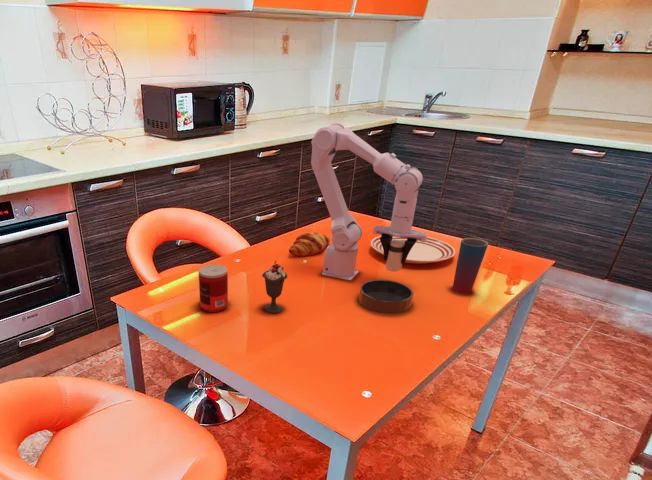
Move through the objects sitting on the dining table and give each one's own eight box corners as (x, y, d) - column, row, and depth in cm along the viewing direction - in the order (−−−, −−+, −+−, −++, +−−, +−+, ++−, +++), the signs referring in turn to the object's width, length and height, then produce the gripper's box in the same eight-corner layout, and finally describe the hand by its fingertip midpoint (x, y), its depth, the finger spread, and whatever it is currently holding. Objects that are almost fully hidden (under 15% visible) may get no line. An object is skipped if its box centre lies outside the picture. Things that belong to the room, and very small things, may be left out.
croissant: (321, 250, 178) (315, 229, 177) (342, 243, 170) (336, 222, 169) (283, 264, 166) (276, 242, 165) (304, 258, 158) (297, 235, 157)
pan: (351, 307, 132) (353, 294, 130) (367, 288, 142) (369, 276, 140) (402, 319, 125) (405, 306, 123) (415, 299, 136) (418, 286, 133)
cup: (476, 297, 136) (491, 247, 128) (451, 295, 137) (464, 245, 129) (471, 287, 142) (484, 238, 134) (446, 285, 143) (458, 237, 135)
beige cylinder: (383, 269, 141) (387, 243, 136) (387, 264, 144) (392, 239, 140) (398, 272, 138) (404, 246, 134) (403, 267, 142) (408, 241, 137)
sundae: (269, 316, 128) (271, 264, 120) (256, 306, 133) (258, 255, 125) (290, 311, 130) (293, 259, 123) (276, 301, 136) (279, 251, 128)
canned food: (231, 301, 136) (231, 265, 130) (222, 314, 129) (221, 277, 124) (206, 298, 138) (205, 262, 132) (196, 310, 132) (194, 273, 126)
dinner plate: (385, 235, 181) (386, 227, 179) (462, 250, 167) (464, 241, 165) (357, 258, 162) (358, 249, 160) (440, 277, 148) (443, 267, 146)
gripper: (372, 215, 133) (365, 260, 140) (426, 223, 127) (416, 270, 134) (380, 208, 138) (373, 253, 145) (432, 216, 132) (422, 262, 139)
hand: (394, 261), depth 140 cm, fingers closed on beige cylinder, 4 cm apart
